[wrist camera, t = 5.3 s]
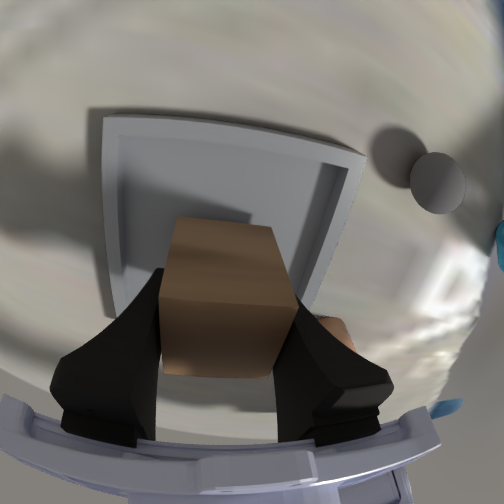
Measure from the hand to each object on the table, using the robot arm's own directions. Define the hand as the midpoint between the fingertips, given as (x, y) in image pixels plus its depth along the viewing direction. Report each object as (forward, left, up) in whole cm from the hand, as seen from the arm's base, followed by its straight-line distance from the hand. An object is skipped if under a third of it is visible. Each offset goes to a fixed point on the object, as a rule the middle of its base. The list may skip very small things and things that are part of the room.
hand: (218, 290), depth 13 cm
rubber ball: (+7, -11, -3) cm, 13 cm away
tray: (0, 0, -3) cm, 3 cm away
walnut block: (0, 0, -2) cm, 2 cm away
